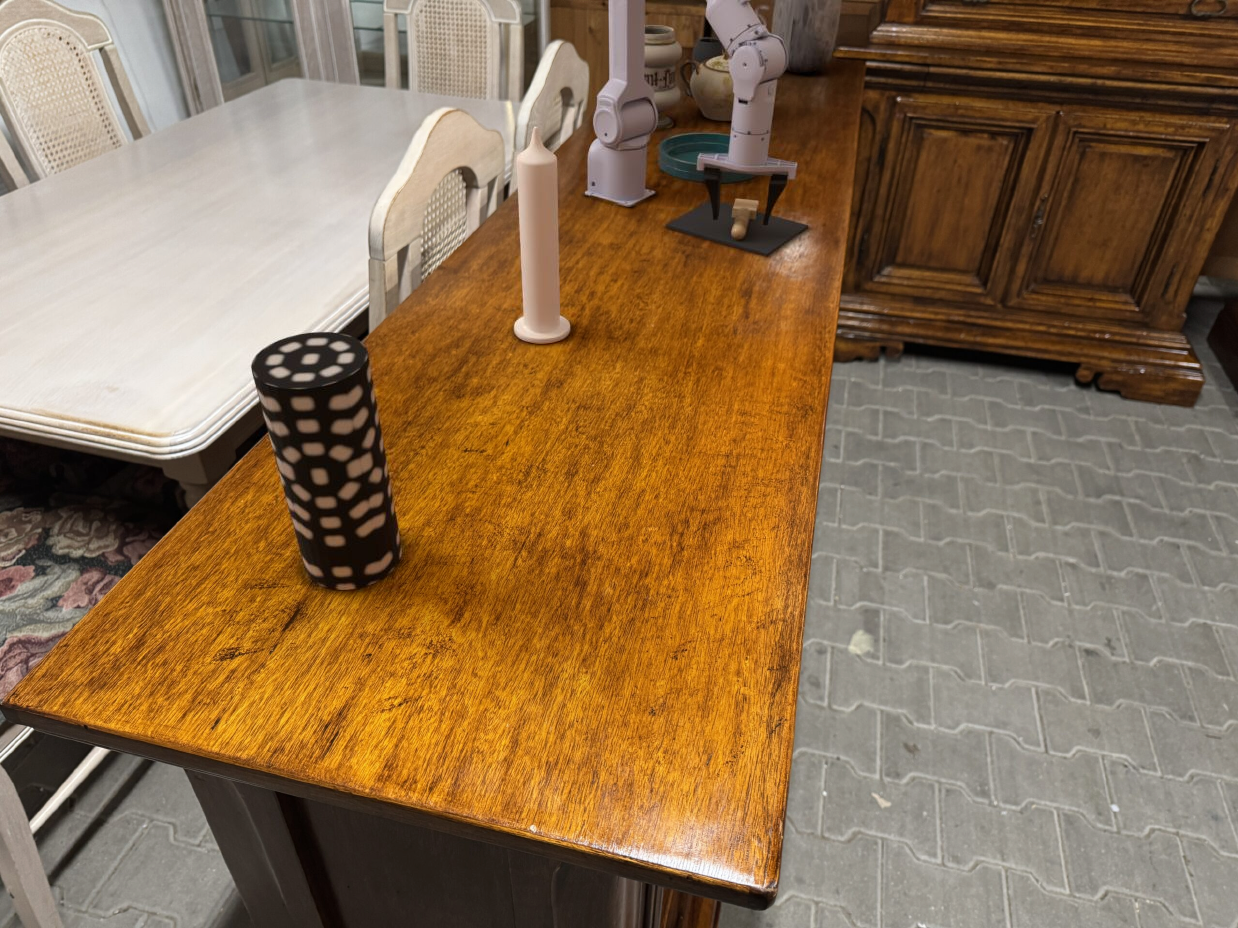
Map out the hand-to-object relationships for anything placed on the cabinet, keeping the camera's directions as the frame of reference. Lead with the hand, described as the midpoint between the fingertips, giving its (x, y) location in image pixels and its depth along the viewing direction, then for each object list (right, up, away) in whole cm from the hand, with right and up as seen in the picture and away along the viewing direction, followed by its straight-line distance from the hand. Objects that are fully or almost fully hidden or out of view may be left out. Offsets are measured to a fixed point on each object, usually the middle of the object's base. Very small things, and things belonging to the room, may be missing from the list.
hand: (740, 220), depth 134 cm
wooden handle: (+1, +1, +4) cm, 5 cm away
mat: (0, 0, +4) cm, 4 cm away
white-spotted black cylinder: (-42, -46, -57) cm, 84 cm away
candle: (-28, -21, -24) cm, 42 cm away
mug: (+2, +49, +70) cm, 86 cm away
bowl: (-2, +17, +27) cm, 32 cm away
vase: (+27, +62, +88) cm, 110 cm away
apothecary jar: (-12, +33, +48) cm, 60 cm away
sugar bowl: (+4, +37, +54) cm, 66 cm away
